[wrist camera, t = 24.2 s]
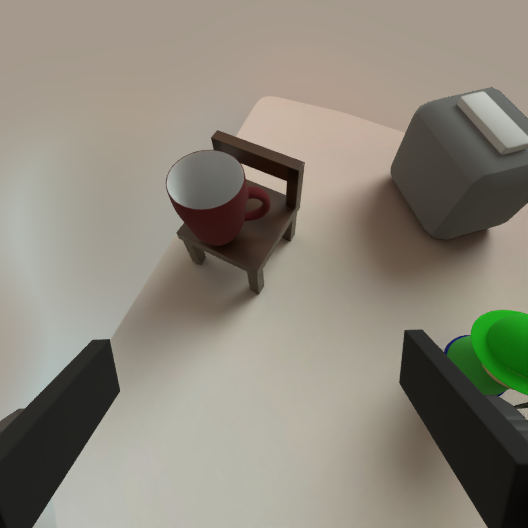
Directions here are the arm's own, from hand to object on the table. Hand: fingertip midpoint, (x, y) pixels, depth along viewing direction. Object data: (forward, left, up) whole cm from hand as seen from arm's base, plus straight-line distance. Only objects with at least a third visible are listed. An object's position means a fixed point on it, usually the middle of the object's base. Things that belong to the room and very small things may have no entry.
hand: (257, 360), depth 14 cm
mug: (+15, +14, -20) cm, 29 cm away
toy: (+15, -19, -28) cm, 37 cm away
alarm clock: (+40, -9, -28) cm, 50 cm away
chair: (+18, +14, -28) cm, 36 cm away
